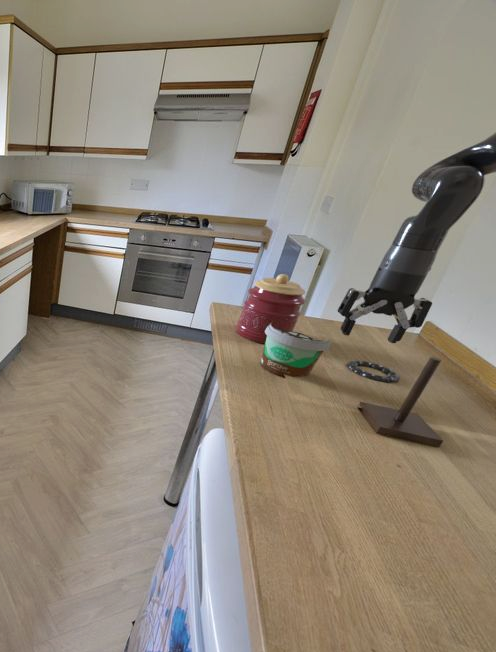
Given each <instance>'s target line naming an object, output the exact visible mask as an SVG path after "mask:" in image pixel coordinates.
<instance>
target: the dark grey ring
mask: <svg viewBox="0 0 496 652" xmlns="http://www.w3.org/2000/svg"><path fill="white" fill-rule="evenodd" d="M346 367H347V369H348V370H349V371H351V372H352V373H354V374H355V375H358V376H360V377H362V378H363V377H364V378H366V379H369V380H372V381H376V382H381V383H386V384H397V383H398V382H399V381H400V379H401V377H400V375H399V374H397V372H396V371H395V370H392V369H390V368H389V367H387V366H384V365H381V364H379V363H376V362H371V361H366V360H351V361H349V362H347V364H346ZM361 367H364V368H365V367H366V368H370V369H374V370H377V371H380V372H381V373H382V374H383V373H384V374H385V376H384V375H379V374H374V373H372V372H368V371H366V370H364V369H362V368H361Z"/></svg>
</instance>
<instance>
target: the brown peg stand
mask: <svg viewBox="0 0 496 652" xmlns="http://www.w3.org/2000/svg"><path fill="white" fill-rule="evenodd" d="M441 362H442V359H441V358H439V357H435V356H430V357H429V359H428V361H427V362H426V364H425V365H424V367H423V369H422V371H421V372H420V374H419V376H418V377H417V378H416V381H414V382H415V383H414V384H413V385H412V387H411V389H410V391H409V392H408V394H407V396H406V397H405V399H404V401H403V402H402V404H401V406H400V407H399V409H397V408H393V407H390V406H383V405H378V404H375V403H368V402H363V401H360V402H359V404H358V405H359V407H358V406H357V407H356V408H357V409H358V410H359V412H360V413H361V415H362V416H363V417H364V419H365V420H366V421H367V424H369V426H370V427H371V428H372V430H373V431H374V430H375V431H374V433H376V434H377V433H380V434H379V435H382V434H384V435H383V436H386V435H389V436H388V437H391V436H393V437H392V438H395V437H396V439H400V440H404V439H405V441H408V440H409V441H408V442H413V441H414V443H417V442H418V444H423V445H427V446H431V447H435V448H440V447H441V445H442V444H443V442H444V440H443V439H442V437H440V435H439V434H437V432H436V431H435V430H434V429H433V428H432V427H431V426H430V425H429V424H428V423H427V422H426V421H425V420H424V419H423V418H422V416H421V415H419V414H418V413H417V412H414V411H413V412H412V410H413V408H414V407H415V405H416V403H417V402H418V400H419V399H420V397H421V395H422V394H423V391H424V390H425V388H426V387H427V385H428V384H429V382H430V380H431V378H432V377H433V376H434V374H435V372H436V370H437V369H438V367H439V366H440V364H441Z"/></svg>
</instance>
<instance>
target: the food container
mask: <svg viewBox="0 0 496 652" xmlns="http://www.w3.org/2000/svg"><path fill="white" fill-rule="evenodd" d="M265 334H266V335H267V338H266V342H265V344H264V347H263V351H262V354H261V358H260V367H261V368H263V370H265V371H266V372H268V373H270V374H271V375H274V376H277V377H280V378H284V379H286V376H290V377H296V378H297V377H298V378H301V377H303V378H304V377H307V376H309V375H310V374H311V372H312V370H313V369H314V367H315V366H316V364H317V362H318V361H319V360H320V357H321V356H322V355H323V353H324V352H325V351H328V350H330V349H331V343H332V341H331V338H329V339H327V340H321V339H318V338H313V337H311V336H308V335H306V334H303V333H301V332H297V331H293V332H292V331H286V330H281V329H278V328H274V327H272V326H271V324H270V325H268V327H267V328H266V330H265Z"/></svg>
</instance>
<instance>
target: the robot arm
mask: <svg viewBox="0 0 496 652" xmlns="http://www.w3.org/2000/svg"><path fill="white" fill-rule="evenodd" d="M494 173H496V132H494V133H493V134H491V135H490V136H488V137H486V138H485V139H483V140H482V141H480V142H477V143H475V144H473V145H471V146H469V147H466V148H464V149H461V150H460V151H458V152H456V153H453V154H451V155H449V156H447V157H445V158H443V159H441V160H439V161H438V162H435V163H434V164H432V165H431V166H429V167H428V168H426V169H425V170H423V171H422V172H421V173H420V174H419V175H418V176H417V177H416V178H415V179H414V181H413V183H412V186H411V193H412V195H413V197H414V198H415V199H417V200H418V201H420V202H423V203H425V204H424V206H423V207H422V208H421V209H420V211H419V212H418V214H416V215H411V216H408V217H406V218H405V219H404V220H403V222H402V223H401V224H400V226H399V229H398V230H397V232H396V235H395V236H394V239H393V240H392V243H391V245H390V246H389V248H388V249H387V251H386V252H385V254H384V256H383V257H382V260H381V262H380V264H379V266H378V267H377V270H376V272H375V273H374V276H373V278H372V280H371V282H370V284H369V287H368V289H367V290H365V291H363V290H357V289H356V288H352V287H351V288H348V290H347V291H346V293H345V296H344V297H343V299H342V301H341V303H340V305H339V307H338V308H337V313H339V314H340V315H341V316H342V317H345V318H344V320H343V322H342V324H341V326H340V331H341V333H342V334H343V336H347V337H349V336H350V334H351V332H352V330H353V329H354V327H355V324H356V320H357V319H359V318H361V317H363V316H366V315H369V314H370V313H373V314H376V315H382V314H383V315H385V316H389V317H391V316H393V317H394V319H395V321H396V323H397V324H394V326H393V328H392V330H391V331H390V333H389V335H388V337H387V341H388V342H389V343H390V344H397V342H400V341H401V340H402V339H403V337H404V335H405V333H406V332H407V330H408V329H410V328H421V327H422V326H423V324H424V323H425V320H426V318H427V316H428V314H429V312H430V310H431V308H432V306H433V302H432V301H431V300H429V299H427V298H425V297H421V298H415V296H416V295H417V294H418V292H419V291H420V288H421V287H422V286H423V284H424V281H425V279H426V277H427V276H428V274H429V272H431V270H432V267H433V265H434V263H435V261H436V258H437V255H438V252H439V250H440V248H441V247H442V245H443V243H444V241H445V240H446V237H447V236H448V233H449V231H450V230H451V229H452V228H453V227H454V226H455V224H456V223H457V222H458V221H459V220H461V218H462V217H463V216H464V215H465V213H467V212H468V210H469V209H470V208H471V207H472V206H473V204H474V203H475V202H476V201H477V200H478V198H480V197H479V196H480V195H481V194H482V192H483V189H484V186H485V181H486V177H485V176H487V175H490V174H494ZM361 298H363V302H361V303H359V304H357V305H356V306H355V307H354V304H355V302H356V301H359V300H360V299H361ZM411 306H413V308H414V309H413V311H412V313H411V316H410V318H409V319H408V316H407V313H406V311H405V310H406V309H408V308H410V307H411ZM353 307H354V308H353Z"/></svg>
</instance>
